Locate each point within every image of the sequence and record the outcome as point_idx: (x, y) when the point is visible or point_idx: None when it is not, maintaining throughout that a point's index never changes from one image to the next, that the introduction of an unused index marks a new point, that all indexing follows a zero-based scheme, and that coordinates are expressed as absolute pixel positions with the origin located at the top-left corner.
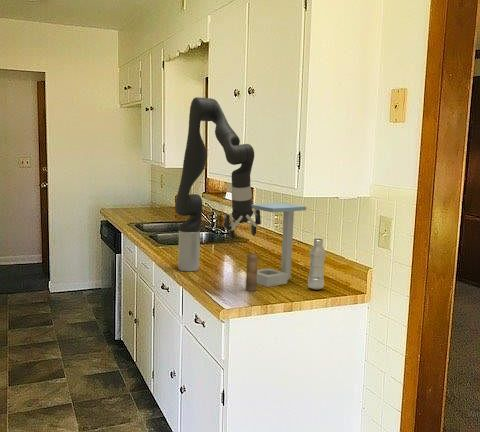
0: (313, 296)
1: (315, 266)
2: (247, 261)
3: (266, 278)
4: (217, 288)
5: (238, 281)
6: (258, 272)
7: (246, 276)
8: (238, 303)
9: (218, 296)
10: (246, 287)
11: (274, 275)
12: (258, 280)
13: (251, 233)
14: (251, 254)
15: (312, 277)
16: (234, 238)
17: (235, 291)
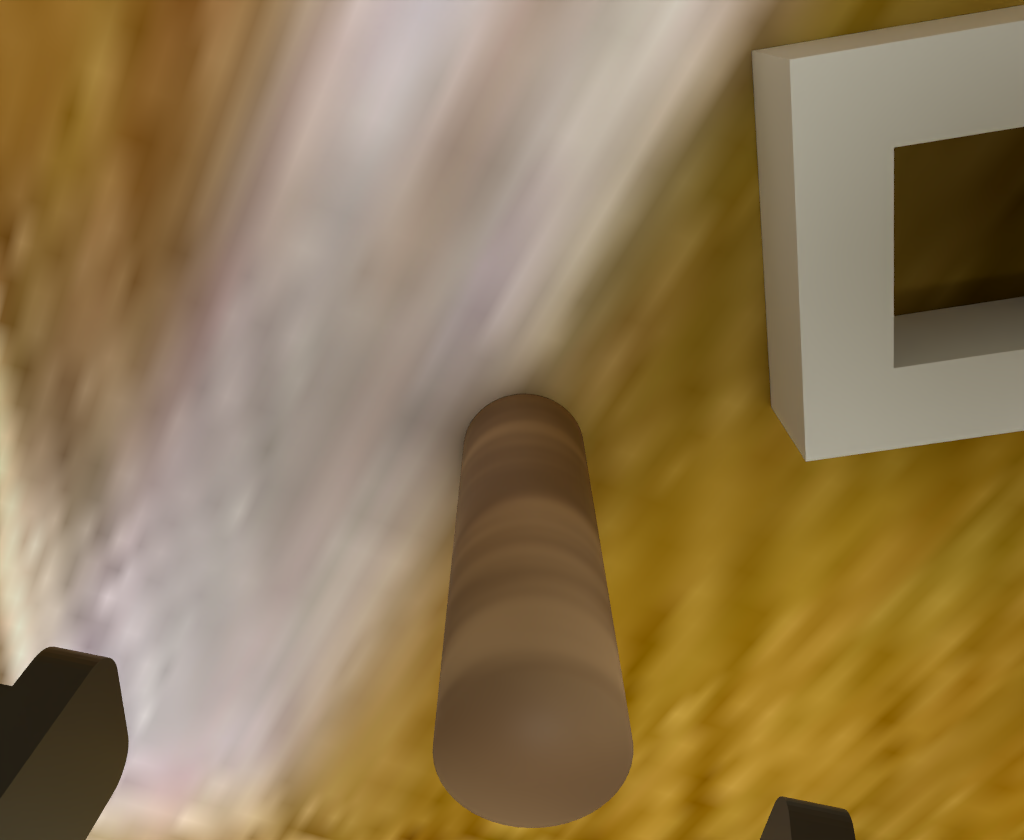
0: (967, 810)
1: None
2: (441, 663)
3: (799, 438)
4: (157, 252)
5: (578, 27)
6: (864, 187)
7: (458, 511)
8: (195, 759)
9: (74, 531)
10: (462, 460)
11: (957, 422)
12: (774, 259)
13: (784, 812)
14: (514, 747)
15: None
16: (106, 786)
17: (325, 437)
